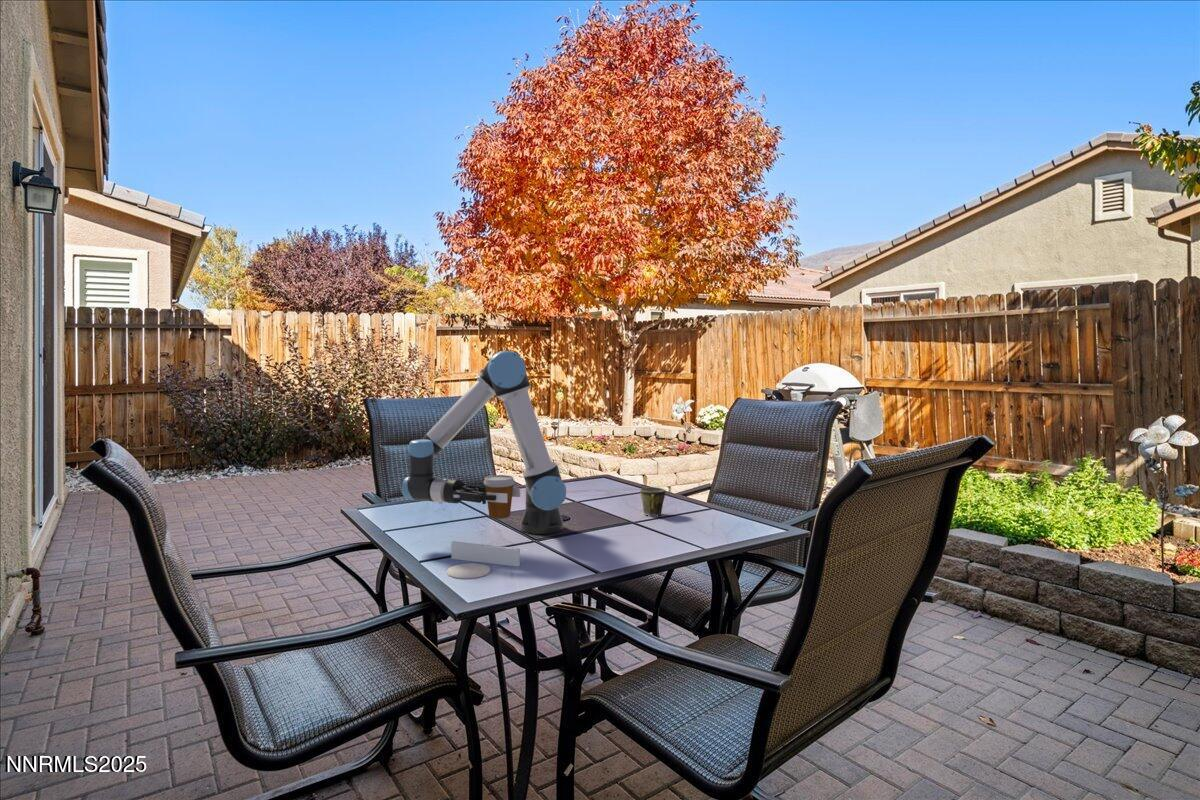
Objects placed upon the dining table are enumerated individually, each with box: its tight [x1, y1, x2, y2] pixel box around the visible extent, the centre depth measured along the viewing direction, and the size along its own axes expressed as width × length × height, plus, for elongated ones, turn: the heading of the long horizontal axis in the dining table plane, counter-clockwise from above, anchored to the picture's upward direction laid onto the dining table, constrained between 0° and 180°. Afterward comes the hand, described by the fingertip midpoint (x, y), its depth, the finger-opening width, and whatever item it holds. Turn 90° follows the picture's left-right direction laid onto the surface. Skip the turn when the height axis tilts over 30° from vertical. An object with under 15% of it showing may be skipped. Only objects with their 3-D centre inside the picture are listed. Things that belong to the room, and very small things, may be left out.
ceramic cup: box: [639, 486, 667, 517], centre depth 253 cm, size 13×10×10 cm
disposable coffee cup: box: [483, 474, 516, 520], centre depth 200 cm, size 10×10×12 cm
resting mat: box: [446, 562, 491, 580], centre depth 183 cm, size 12×12×1 cm
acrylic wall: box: [450, 540, 521, 568], centre depth 192 cm, size 22×1×5 cm, turn 71°
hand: (513, 495), depth 199 cm, fingers closed on disposable coffee cup, 8 cm apart
